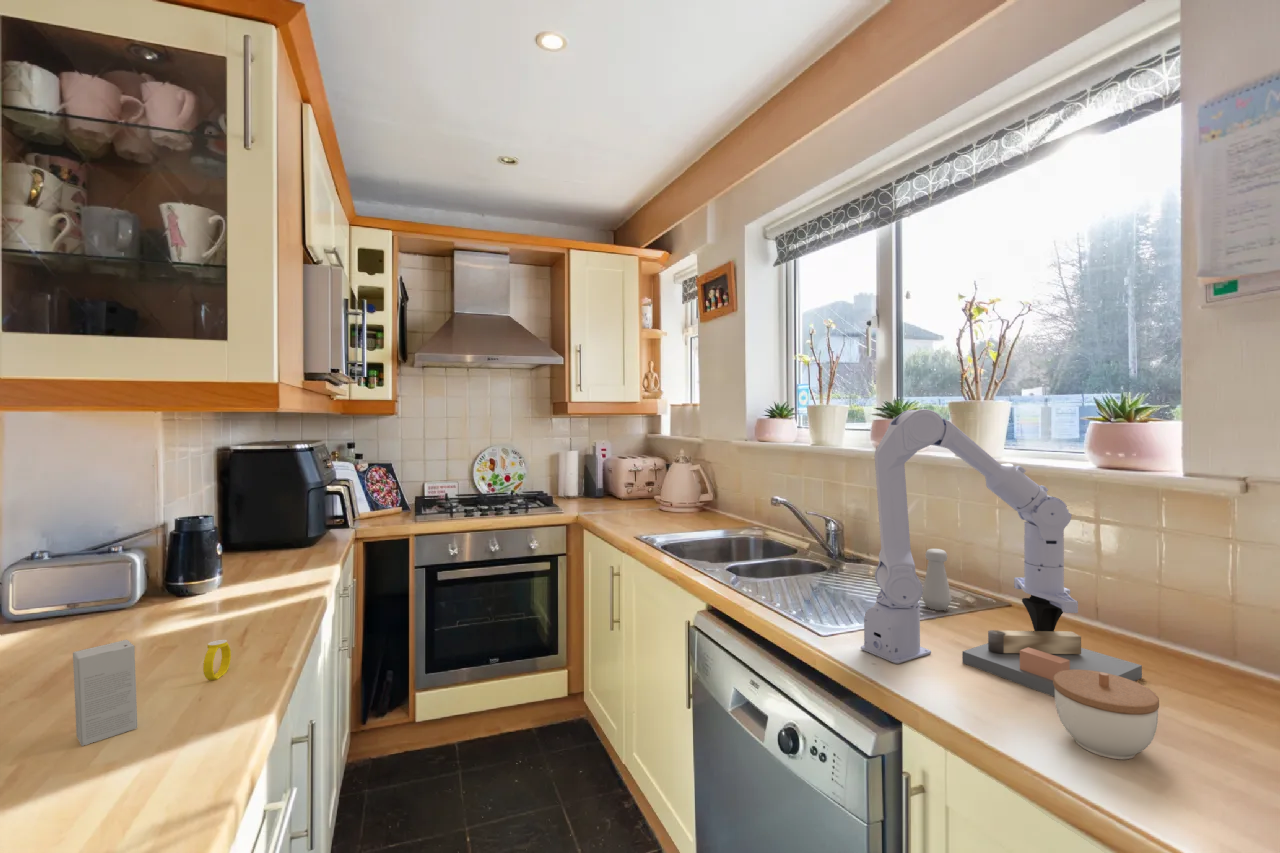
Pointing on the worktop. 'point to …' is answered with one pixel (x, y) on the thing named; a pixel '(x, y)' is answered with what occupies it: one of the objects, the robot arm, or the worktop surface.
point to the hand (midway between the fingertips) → (1044, 641)
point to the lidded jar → (1106, 712)
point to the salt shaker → (936, 581)
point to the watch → (209, 659)
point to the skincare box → (105, 691)
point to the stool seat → (1045, 665)
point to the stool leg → (1034, 641)
